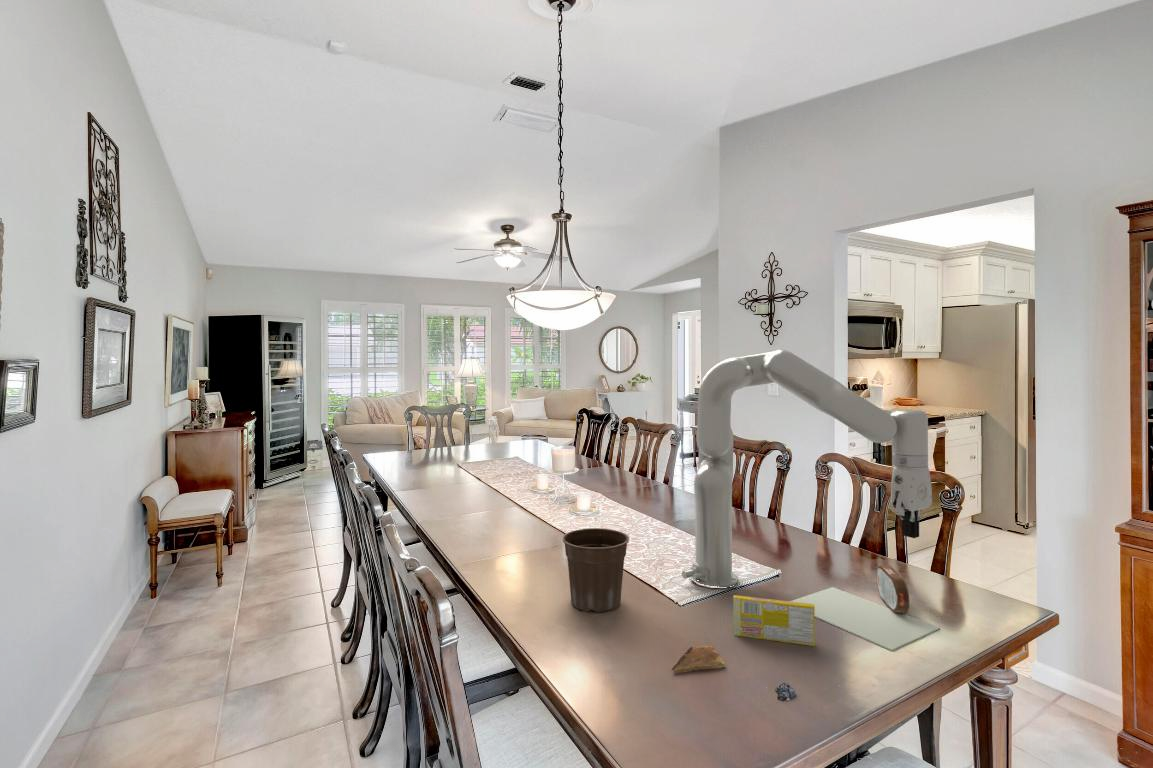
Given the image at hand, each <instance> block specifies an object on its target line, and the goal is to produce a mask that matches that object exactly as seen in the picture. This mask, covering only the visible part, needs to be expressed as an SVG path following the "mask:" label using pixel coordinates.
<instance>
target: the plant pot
mask: <svg viewBox="0 0 1153 768" xmlns="http://www.w3.org/2000/svg"><path fill="white" fill-rule="evenodd" d="M562 542H563V543H564V551H565V556H566V558H567V569H568V570H567V571H568V581H569V591H570V602H571V604H572V605H573V606H574V607H575V608H576V609H579V610H580V611H581V610H582V611H585V612H589V611H594V612H596V613H603V612H609V611H612V610H614V609H616V608H619V606H620V605H621V600H622V588H623V577H624V564H625V557H626V556H627V546H628V543H629V542H630V537H629V535H627V534H626V533H625V532H622V531H619V530H616V529H611V528H610V529H609V528H599V527H596V528H594V527H593V528H591V527H590V528H580V529H574V530H571V531H569V532H567V533H565V534H564V535H563V536H562ZM608 610H609V611H608Z"/></svg>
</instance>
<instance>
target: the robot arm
mask: <svg viewBox="0 0 1153 768" xmlns="http://www.w3.org/2000/svg"><path fill="white" fill-rule="evenodd" d="M774 383H775V384H777V385H778V386H780V387H781V388H783V389H785V390H786V391H788V392H790V393H791V394H793V395H794V396H796V397H798V398H799V399H800V400H802V401H803V402H805V403H807V404H808V405H810V406H811V407H813V408H815V409H816V410H818V411H820V412H822V413H824V414H826V415H828V416H830V417H832V418H834V419H835V420H837V422H840V423H842V424H843V425H844V426H847V427H848V428H850V429H851V430H853V431H854V432H856V433H858V434H859V435H861V436H862V437H863V438H865V439H867V440H868V441H869V442H870V441H871V442H872V443H876V444H884V443H887V442H890V441H891V467H892V473H891V480H890V481H891V482H890V483H891V484H890V501H891V506H892V508H893V509H895V512H894V513H895V515H897V516H900V520H901V534H902V536H904V537H907V538H912V539H917V538H919V537H920V520H921V513H922V512H923V511H924V510H925V509H927V508H929V507H930V506H932V504H933V491H932V490H933V489H932V480H931V472H930V468H929V421H928V420H929V416H928V414H927V412H926V411H925V410H919V409H897V410H891V409H882V408H880V407H878V406H877V405H876V404H873V403H872V402H870V401H869V400H867V399H866V398H864V397H862V396H861V395H859V394H858V393H856V392H854V391H852V390H851V389H849V388H848V387H846V386H845V385H844V384H842V383H841V382H840V381H838V380H837V379H835V378H833V377H832V376H830V375H829V374H828V373H825V372H824V371H822V370H820V369H819V368H817V367H815V366H814V365H812V364H810V363H809V362H808V361H806V360H804V359H802V358H801V357H800V356H797V355H796V354H795V353H792V352H790V351H788V350H786V349H777V350H773V351H769V352H768V351H767V352H763V353H758V354H751V355H744V356H738V357H736V356H735V357H733V356H732V357H729V358H727V359H724V360H722V361H721V362H718V363H717V364H716V365H714V366H713V367H711V368H710V369H709V370H708V371H707V373H706V374H705V375H704V376H703V378H702V380H701V382H700V386H699V389H698V398H697V399H698V400H697V401H698V402H697V426H696V427H697V428H696V429H697V431H696V438H695V439H696V446H697V448H698V469H697V471H696V473H695V476H694V483H693V491H694V511H695V512H694V514H695V515H694V517H695V518H694V519H695V521H694V523H695V524H694V525H695V527H694V528H695V537H694V539H695V544H694V545H695V548H694V549H695V550H694V551H695V562H693V563H692V567H691V568H690V569H686V570H682V572H681V577H682V578H683V579H688V578H689V579H690V577H691V579H693V580H694V581H696V582H698V583H700V584H704V585H709V586H717V587H718V586H719V587H730V586H733V585H735V584H736V583H737V582H739V577H738V575H737V574H736V573H735V572H733V509H732V508H733V498H732V497H733V495H732V494H733V481H734V479H733V477H734V433H733V429H732V428H731V427H732V426H731V416H732V415H731V413H732V397H733V394H734V393H735V392H736V391H738V390H741V389H743V388H748V387H755V386H761V385H762V386H763V385H769V384H774ZM697 580H699V581H697ZM737 584H738V583H737ZM737 584H736V585H737ZM736 585H735V586H736ZM733 587H734V586H733ZM730 588H731V587H730Z"/></svg>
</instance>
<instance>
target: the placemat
mask: <svg viewBox="0 0 1153 768" xmlns="http://www.w3.org/2000/svg"><path fill="white" fill-rule="evenodd" d="M790 602H799V603H808V604H814V606H815V618H816V619H818V620H821V621H823V622H824V623H828V624H830V625H831V626H834V627H836V628H838V627H839V628H838V629H841V630H843V631H845V632H847V631H848V633H849V634H852V635H854V636H857V637H858V638H861V639H863V640H866V641H868V642H870V643H872V644H875V645H877V646H880V647H881V648H884V649H886V650H887V651H890V652H893V651H895V650H898V649H900V648H901V647H904V646H906V645H908V644H910V643H913V642H915V641H918V640H919V639H921V638H924V637H926V636H928V635H930V634H932V633H935V632H936V630H937V631H938V629H939V630H940V629H941V627H939V626H937V625H934V624H931V623H929V622H927V621H925V620H924V621H923V620H921V619H919V618H916V617H913V616H910V615H908V614H905V613H895V612H893V611H892V610H891V609H890V608H889V607H888V606H883V605H882V604H879V603H876V602H873V601H871V600H868V599H865V598H863V597H860V596H857V595H854V594H852V593H850V592H847V591H844V590H841V589H838V588H836V587H833V586H831V587H829V588H825V589H823V590H819V591H816V592H813V593H810V594H808V595H805V596H802V597H799V598H796V599H793V600H790ZM934 631H935V632H934Z"/></svg>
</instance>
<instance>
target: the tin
mask: <svg viewBox="0 0 1153 768" xmlns="http://www.w3.org/2000/svg"><path fill="white" fill-rule="evenodd" d="M876 587H877V591H878V594H879V597H880V599H881V600H882V601H883V602H884V603H885V605H886V607H887V608H889V609H891V610H892V611H893V612H895V613H903V614H905V615H907V614H908V613H909V610H910V609H909V608H910V594H909V589H908V586H907V582H906V580H905V578H904V577H903V576H902V575H901V574H900V573H899V571H897V570H896V569H895V568H894V567H893V566H892V565H890V564H888V565H882V564H880V565H878V566H877V568H876Z"/></svg>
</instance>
